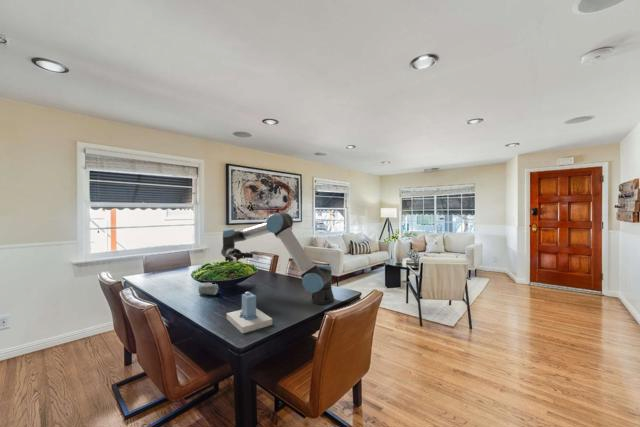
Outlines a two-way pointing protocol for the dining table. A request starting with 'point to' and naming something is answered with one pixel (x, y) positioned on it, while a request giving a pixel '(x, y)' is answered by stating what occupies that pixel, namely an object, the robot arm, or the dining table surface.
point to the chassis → (249, 321)
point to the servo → (248, 306)
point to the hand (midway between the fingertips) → (247, 259)
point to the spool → (208, 288)
